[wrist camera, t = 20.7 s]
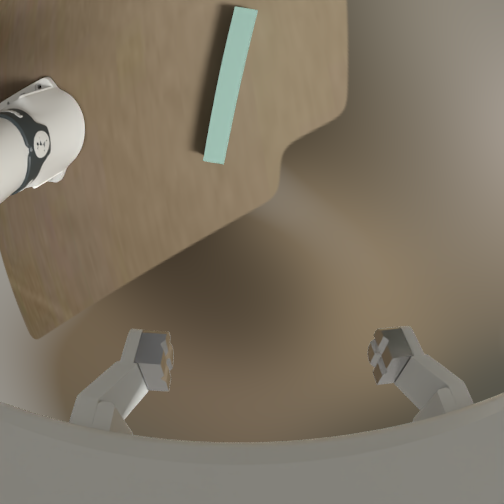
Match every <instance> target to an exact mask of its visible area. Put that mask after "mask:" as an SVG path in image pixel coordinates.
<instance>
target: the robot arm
mask: <svg viewBox="0 0 504 504" xmlns="http://www.w3.org/2000/svg"><path fill="white" fill-rule="evenodd" d="M40 85H41V88H40ZM84 135H85V124H84V118H83V114H82V112H81V109H80V107H79V105H78V104H77V102H76V101H75V99H74V98H73V97H72V96H71V95H69V94H68V93H66V92H65V91H63V90H61V89H59V88H58V87H57V85H56V84H55V83H54V81H53V80H52V79H51V78H50V77H44V78H42V79H40V80H38V81H36V82H34V83H33V84H31V85H29V86H27V87H26V88H24V89H22V90H20V91H19V92H17V93H15V94H14V95H12V96H10V97H9V98H7V99H6V100H4V101H3V102H1V103H0V203H2V202H3V201H4V200H5V199H6V198H7V197H8V196H10V195H14V194H16V193H18V192H20V191H22V190H23V189H25V188H27V187H33V188H37V187H39V186H40V185H42V184H43V183H45V182H47V181H50V182H58V181H60V180H62V178H63V176H64V174H65V171H66V168H67V167H68V166H69V164H70V163H71V162H72V161H73V160H74V159H75V158H76V157H77V155H78V154H79V152H80V150H81V148H82V145H83V141H84ZM374 337H375V339H374V340H372V341H371V342H370V345H369V347H368V359H369V362H370V364H371V365H372V366H373V367H375V368H374V370H373V375H374V378H375V380H376V383H377V385H379V384H388V383H394V384H395V385H396V386H397V387H398V388H399V389H400V390H401V391H402V392H403V393H404V394H405V395H406V396H407V397H408V398H409V399H410V400H411V401H412V402H413V403H414V404H415V405H416V406H417V408H418V409H420V412H419V413H418V414H417V415H416V416H415V417H414V419H413V422H411V423H407V424H403V425H399V426H394V427H389V428H385V429H379V430H374V431H368V432H363V433H357V434H350V435H344V436H335V437H327V438H318V439H308V440H297V441H282V442H257V443H224V442H221V443H220V442H197V441H182V440H170V439H161V438H152V437H144V436H136V435H132V431H131V430H130V429H129V427H128V426H127V424H126V422H125V421H124V419H125V418H126V417H127V415H128V414H129V413H130V412H131V411H132V410H133V408H134V407H135V406H136V405H137V404H138V403H139V402H140V400H141V399H142V398H143V397H144V396H145V394H146V393H147V392H148V390H156V391H169V388H170V381H171V375H170V370H171V369H172V368H173V356H174V354H173V346H172V345H171V344H170V339H171V338H170V333H169V332H165V331H153V330H140V329H131V330H130V331H129V333H128V337H127V340H126V343H125V346H124V350H123V353H122V357H121V360H120V362H119V361H117V362H116V363H114V364H113V365H112V366H111V367H110V368H108V369H107V370H106V371H105V372H104V373H103V374H102V375H100V376H99V377H98V378H97V379H96V380H95V381H94V382H92V383H91V384H90V385H89V386H88V387H87V388H85V389H84V390H83V391H82V392H81V393H80V394H78V396H77V398H76V402H75V405H74V408H73V411H72V415H71V418H70V422H64V421H61V420H57V419H53V418H50V417H46V416H43V415H39V414H36V413H32V412H29V411H26V410H23V409H20V408H17V407H14V406H12V405H9V404H6V403H3V402H0V504H504V393H502V394H499V395H497V396H494V397H492V398H489V399H486V400H484V401H481V402H478V403H475V404H474V403H473V401H472V399H471V396H470V394H469V392H468V390H467V387H466V385H465V383H464V382H463V381H462V380H461V379H459V378H458V377H457V376H455V375H454V374H453V373H451V372H450V371H449V370H447V369H446V368H445V367H444V366H442V365H441V364H440V363H438V362H437V361H436V360H434V359H433V358H432V357H430V356H429V355H428V354H424V353H423V350H422V348H421V346H420V344H419V342H418V340H417V338H416V336H415V334H414V333H413V330H412V328H411V327H410V326H403V327H392V328H380V329H377V330H376V331H375V333H374Z"/></svg>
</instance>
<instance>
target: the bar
mask: <svg viewBox="0 0 504 504" xmlns="http://www.w3.org/2000/svg"><path fill="white" fill-rule="evenodd" d="M257 11H258V10H254V9H248V8H242V7H236V6H235V9H234V13H233V17H232V21H231V25H230V29H229V33H228V37H227V42H226V46H225V50H224V55H223V59H222V64H221V69H220V73H219V78H218V83H217V88H216V93H215V98H214V103H213V108H212V113H211V119H210V124H209V130H208V135H207V141H206V147H205V153H204V158H203V161H207V162H213V163H219V164H224V161H225V156H226V151H227V146H228V141H229V136H230V131H231V126H232V121H233V116H234V112H235V107H236V102H237V98H238V93H239V88H240V84H241V79H242V75H243V70H244V66H245V62H246V57H247V53H248V49H249V45H250V41H251V36H252V32H253V28H254V24H255V20H256V16H257Z"/></svg>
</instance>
